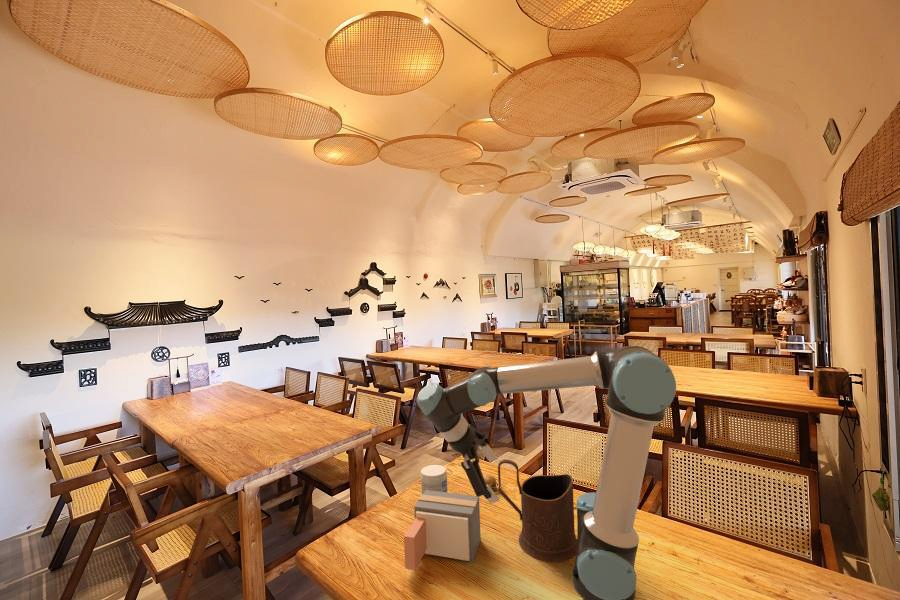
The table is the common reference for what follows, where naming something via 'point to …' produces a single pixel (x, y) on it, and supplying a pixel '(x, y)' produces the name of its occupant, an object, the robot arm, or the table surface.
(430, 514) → the door
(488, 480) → the hamburger
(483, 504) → the table surface
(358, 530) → the table surface
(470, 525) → the carton
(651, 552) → the table surface
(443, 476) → the supplement tub
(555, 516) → the brown pitcher
